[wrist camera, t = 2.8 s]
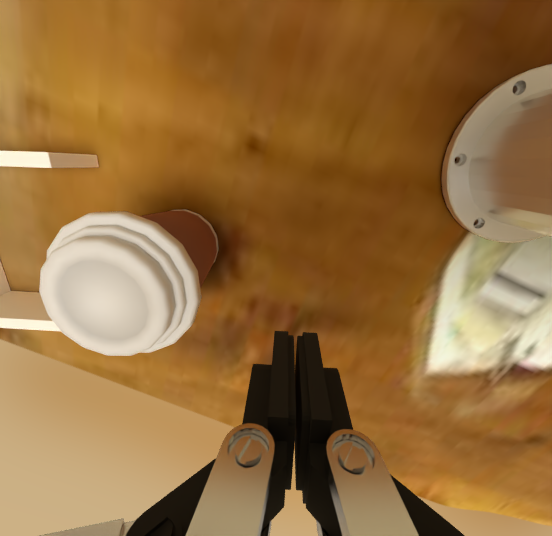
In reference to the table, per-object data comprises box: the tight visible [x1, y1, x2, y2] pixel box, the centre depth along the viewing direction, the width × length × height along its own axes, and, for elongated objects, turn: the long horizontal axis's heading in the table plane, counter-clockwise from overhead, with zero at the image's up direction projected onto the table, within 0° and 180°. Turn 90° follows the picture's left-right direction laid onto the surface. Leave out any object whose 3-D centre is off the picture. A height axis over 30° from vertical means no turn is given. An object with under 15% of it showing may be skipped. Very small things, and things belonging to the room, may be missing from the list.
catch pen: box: [0, 151, 99, 331], centre depth 24 cm, size 13×14×5 cm
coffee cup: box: [39, 209, 219, 356], centre depth 20 cm, size 9×9×12 cm
